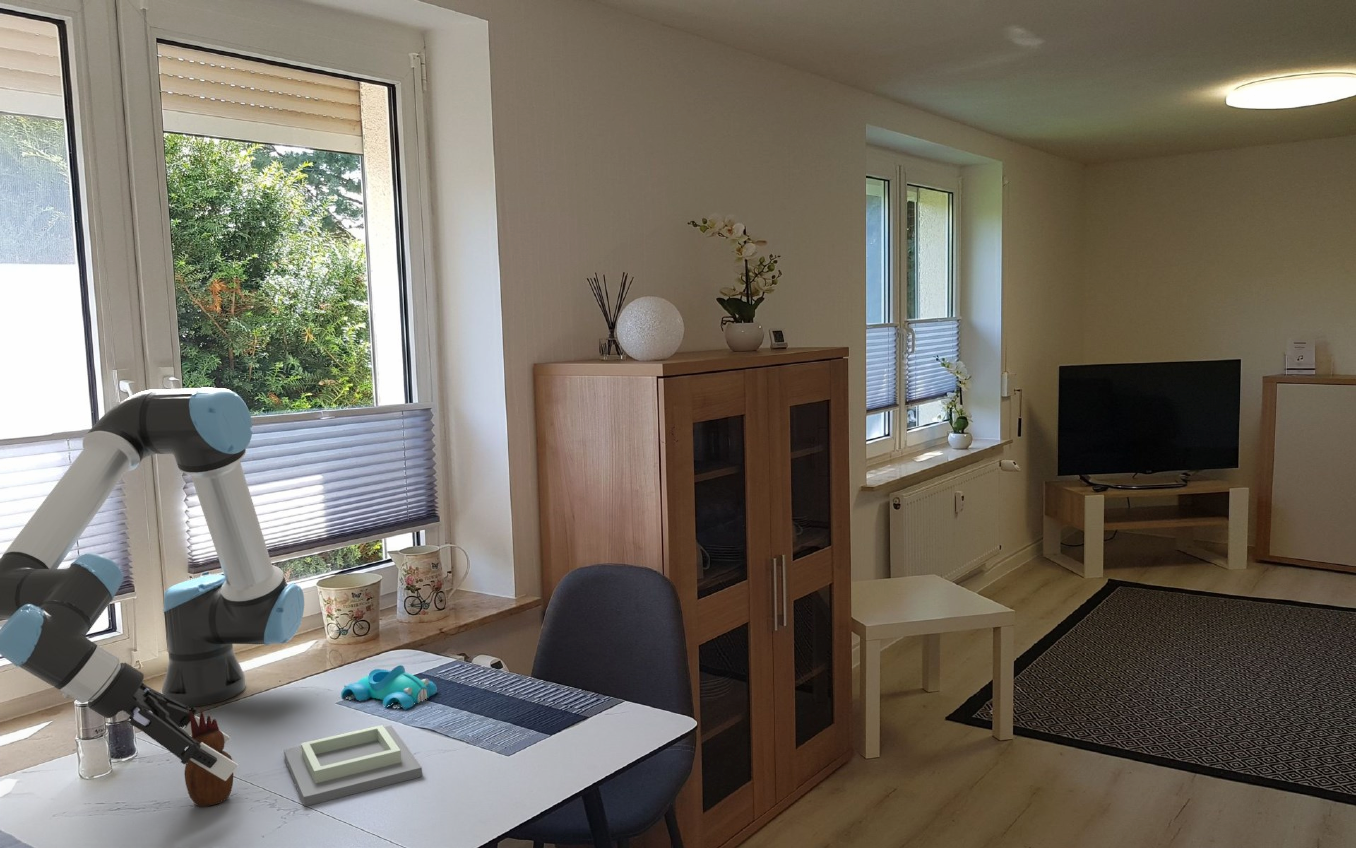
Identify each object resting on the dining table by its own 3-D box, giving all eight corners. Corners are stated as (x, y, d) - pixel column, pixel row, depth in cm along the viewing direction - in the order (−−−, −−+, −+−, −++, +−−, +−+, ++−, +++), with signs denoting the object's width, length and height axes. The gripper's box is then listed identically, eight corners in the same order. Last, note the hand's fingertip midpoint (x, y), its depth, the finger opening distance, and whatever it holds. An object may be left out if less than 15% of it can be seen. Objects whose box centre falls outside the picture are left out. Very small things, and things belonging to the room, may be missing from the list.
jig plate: (284, 758, 170) (282, 738, 170) (391, 733, 179) (390, 714, 179) (304, 806, 153) (302, 784, 153) (422, 776, 162) (421, 755, 161)
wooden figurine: (187, 814, 152) (178, 718, 150) (188, 798, 157) (179, 705, 156) (235, 804, 155) (227, 710, 153) (235, 788, 160) (227, 697, 158)
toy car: (405, 714, 189) (403, 679, 188) (333, 700, 197) (331, 667, 196) (442, 693, 199) (440, 660, 198) (373, 682, 207) (371, 650, 206)
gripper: (86, 680, 157) (203, 751, 166) (83, 732, 136) (217, 810, 145) (121, 640, 159) (236, 712, 168) (123, 686, 138) (254, 765, 147)
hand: (227, 758), depth 157 cm, fingers open, 11 cm apart
